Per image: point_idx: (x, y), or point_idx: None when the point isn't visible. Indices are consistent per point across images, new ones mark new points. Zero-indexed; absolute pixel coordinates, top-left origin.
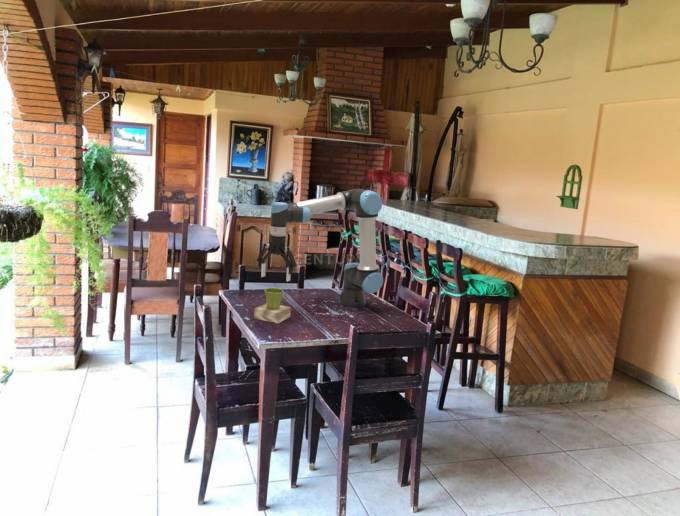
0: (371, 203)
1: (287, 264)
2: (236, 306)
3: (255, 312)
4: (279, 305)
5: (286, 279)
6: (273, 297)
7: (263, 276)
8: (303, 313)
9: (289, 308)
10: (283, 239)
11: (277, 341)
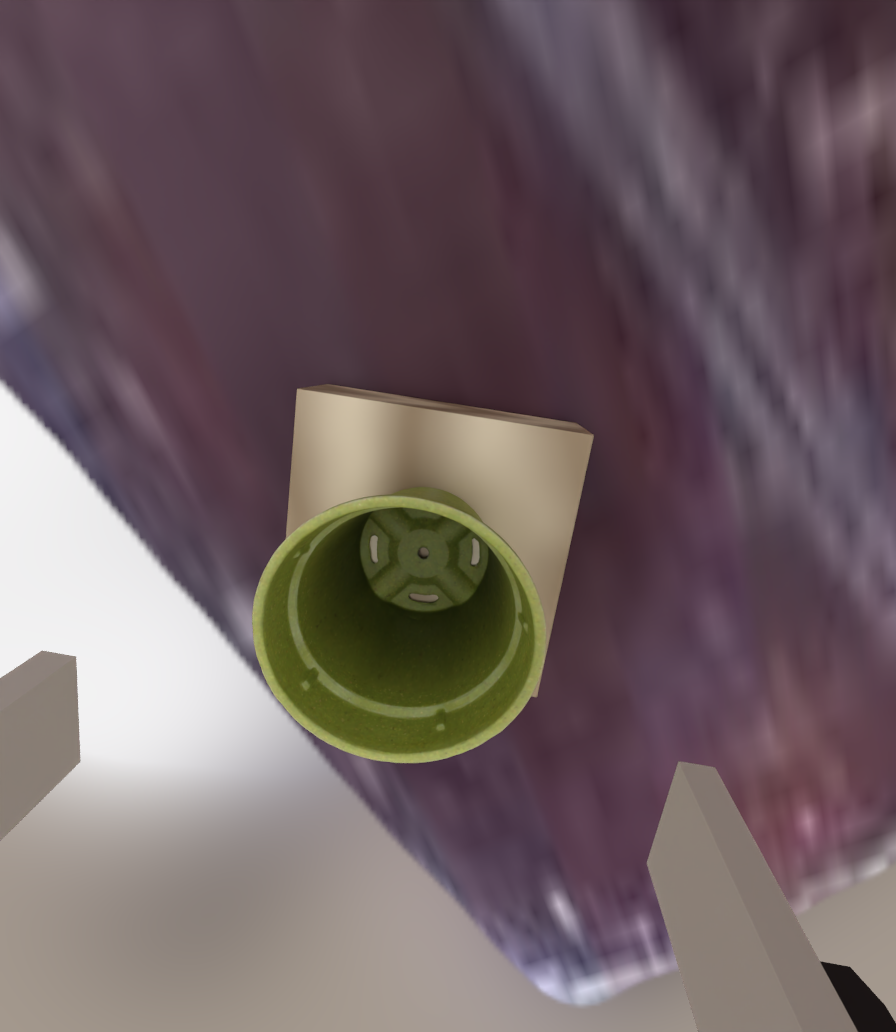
0: None
1: None
2: (5, 349)
3: None
4: (494, 567)
5: (661, 899)
6: (437, 697)
7: (74, 727)
8: (677, 228)
9: (585, 469)
10: None
11: (634, 962)
